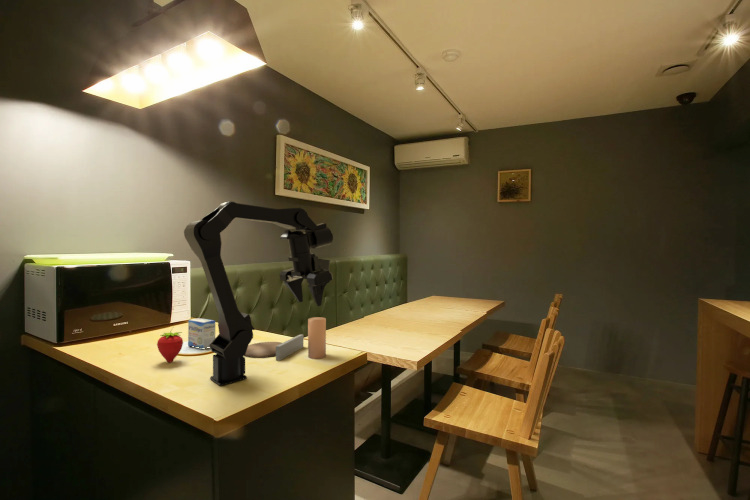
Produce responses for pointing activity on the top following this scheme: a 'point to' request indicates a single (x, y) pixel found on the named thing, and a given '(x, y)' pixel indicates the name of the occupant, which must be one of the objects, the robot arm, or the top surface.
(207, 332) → the medicine box
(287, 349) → the grey wall
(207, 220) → the robot arm
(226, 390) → the top surface
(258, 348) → the walnut board
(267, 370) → the top surface
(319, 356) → the salmon orange cylinder
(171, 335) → the strawberry
